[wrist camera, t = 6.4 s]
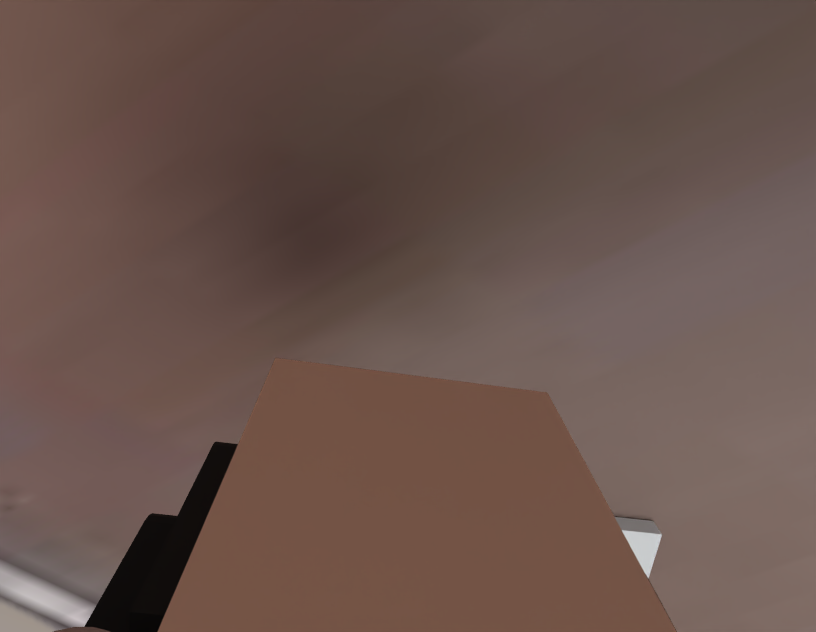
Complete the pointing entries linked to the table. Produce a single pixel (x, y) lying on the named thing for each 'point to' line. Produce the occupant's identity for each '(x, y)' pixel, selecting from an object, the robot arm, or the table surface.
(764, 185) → the table surface
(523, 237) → the table surface
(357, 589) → the terracotta block
